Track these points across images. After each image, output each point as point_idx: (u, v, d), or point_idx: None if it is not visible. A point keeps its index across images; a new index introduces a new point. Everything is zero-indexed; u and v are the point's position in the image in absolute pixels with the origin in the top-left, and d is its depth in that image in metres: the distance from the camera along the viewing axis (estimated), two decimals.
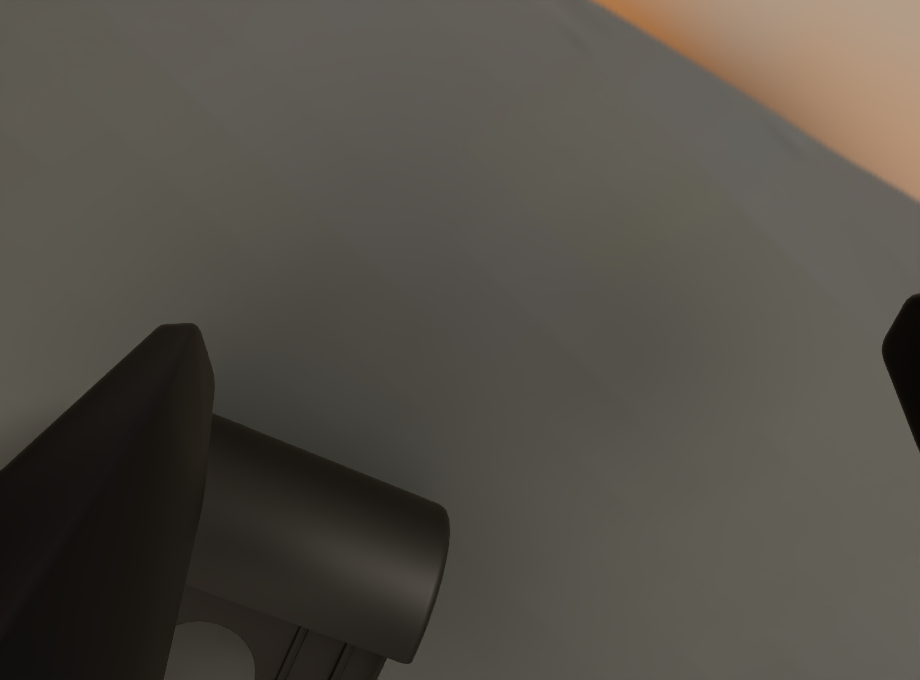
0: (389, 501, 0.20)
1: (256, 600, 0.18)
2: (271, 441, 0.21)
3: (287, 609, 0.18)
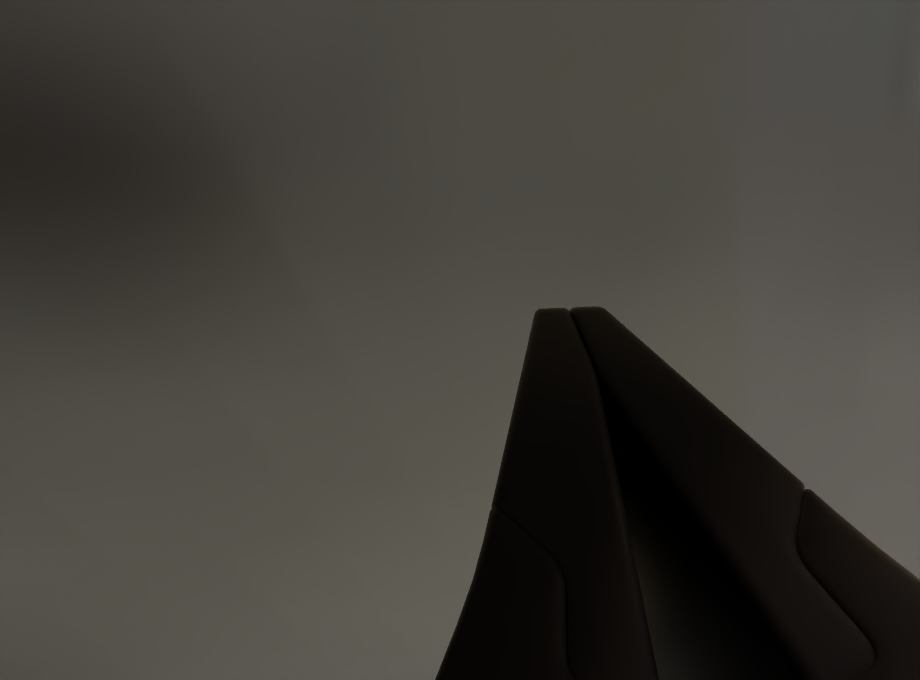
0: None
1: None
2: None
3: None
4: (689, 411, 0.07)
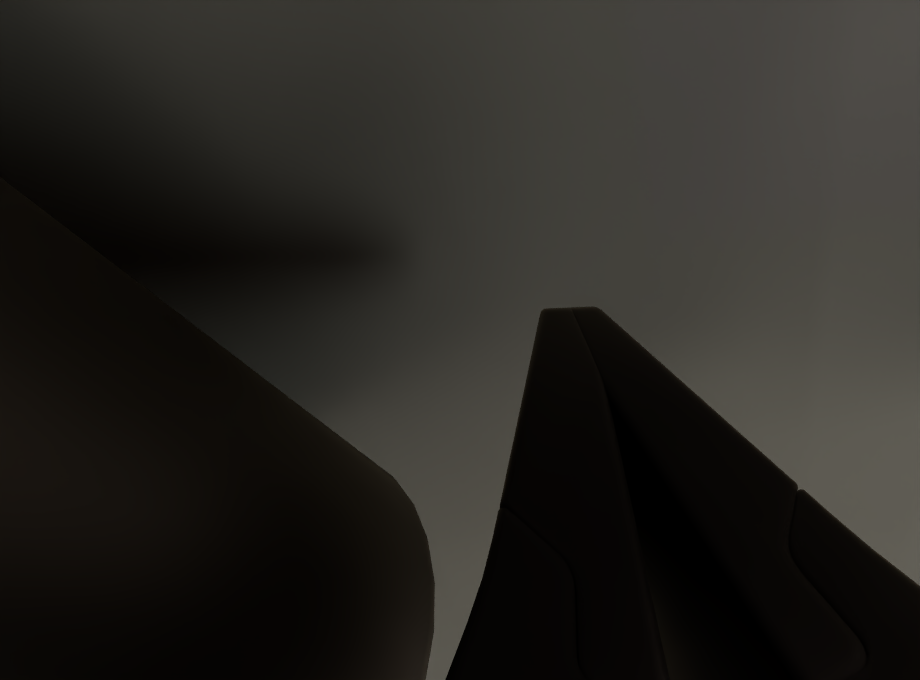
0: (328, 569, 0.07)
1: None
2: (12, 275, 0.05)
3: None
4: (683, 411, 0.07)
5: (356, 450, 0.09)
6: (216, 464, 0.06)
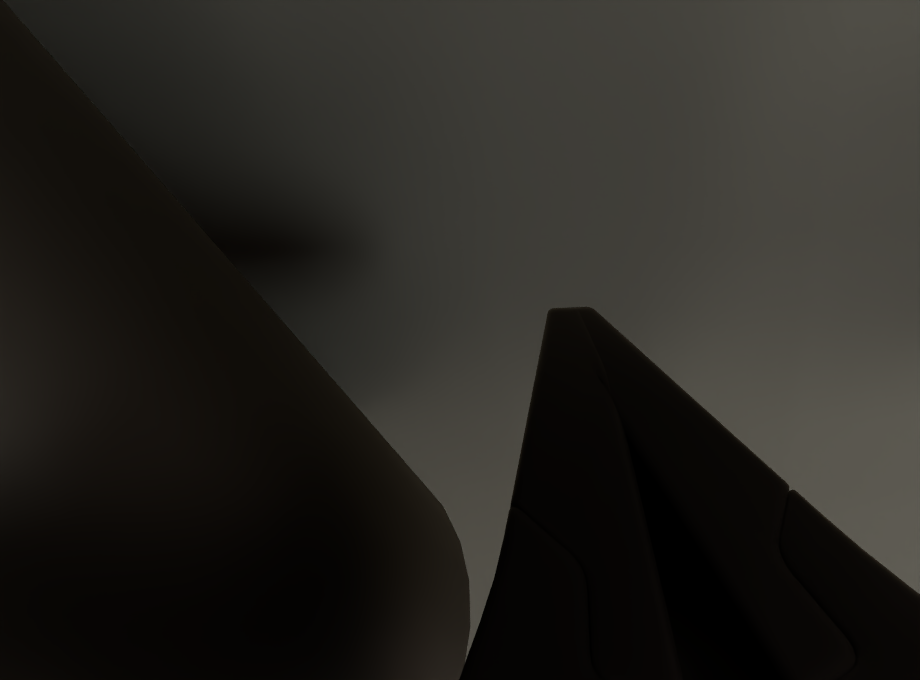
0: (401, 562, 0.08)
1: None
2: (185, 261, 0.06)
3: None
4: (675, 412, 0.07)
5: None
6: (326, 455, 0.07)
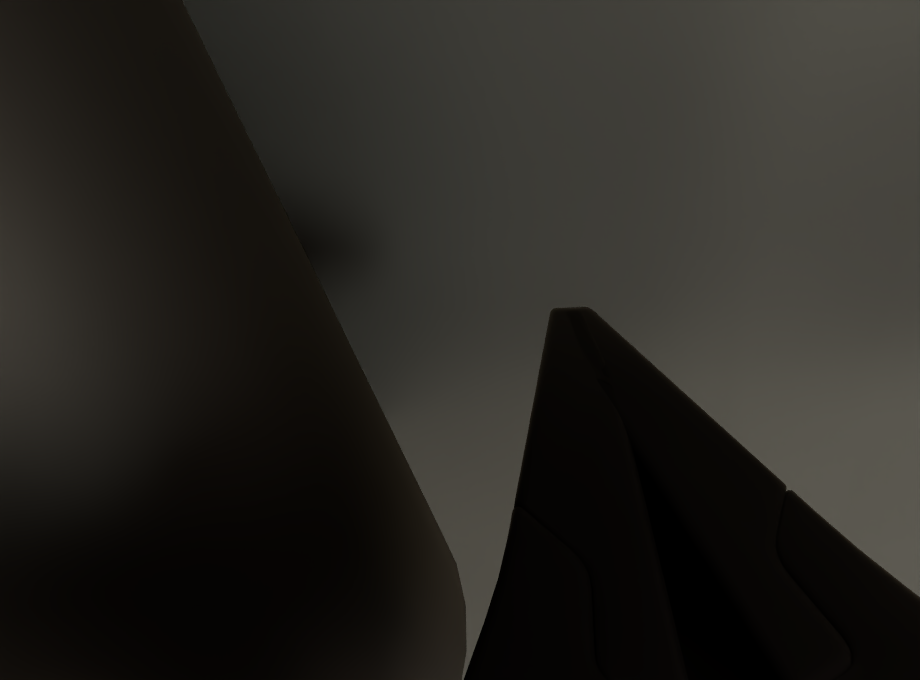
0: (430, 589, 0.08)
1: None
2: (311, 287, 0.06)
3: None
4: (673, 412, 0.07)
5: None
6: (390, 482, 0.07)
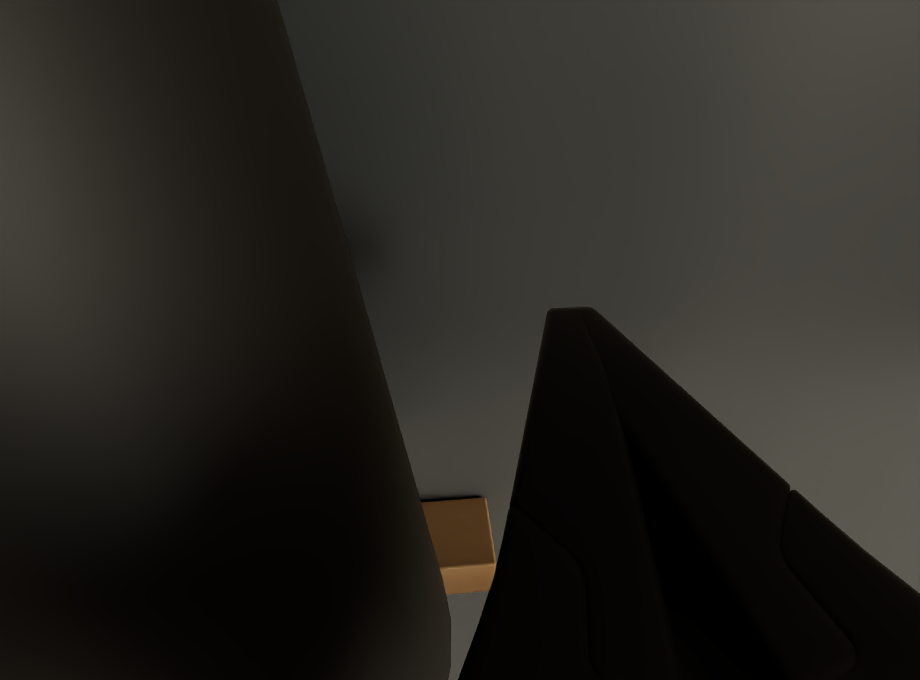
0: (429, 605, 0.08)
1: None
2: (361, 306, 0.06)
3: None
4: (676, 412, 0.07)
5: None
6: (407, 499, 0.07)
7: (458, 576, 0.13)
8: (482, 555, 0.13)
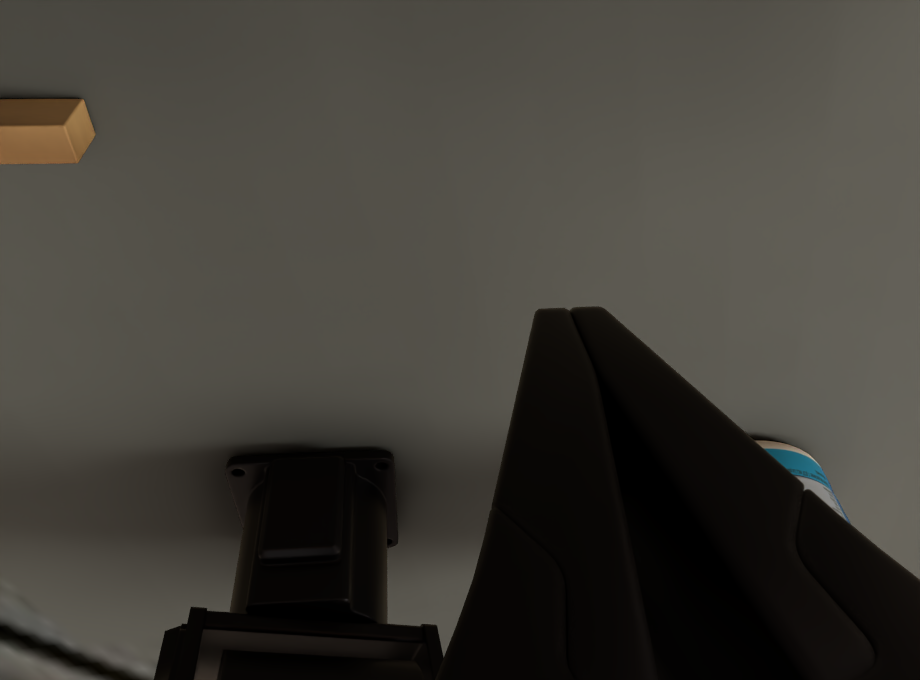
0: None
1: None
2: None
3: None
4: (689, 411, 0.07)
5: None
6: None
7: (38, 138, 0.17)
8: (56, 121, 0.17)
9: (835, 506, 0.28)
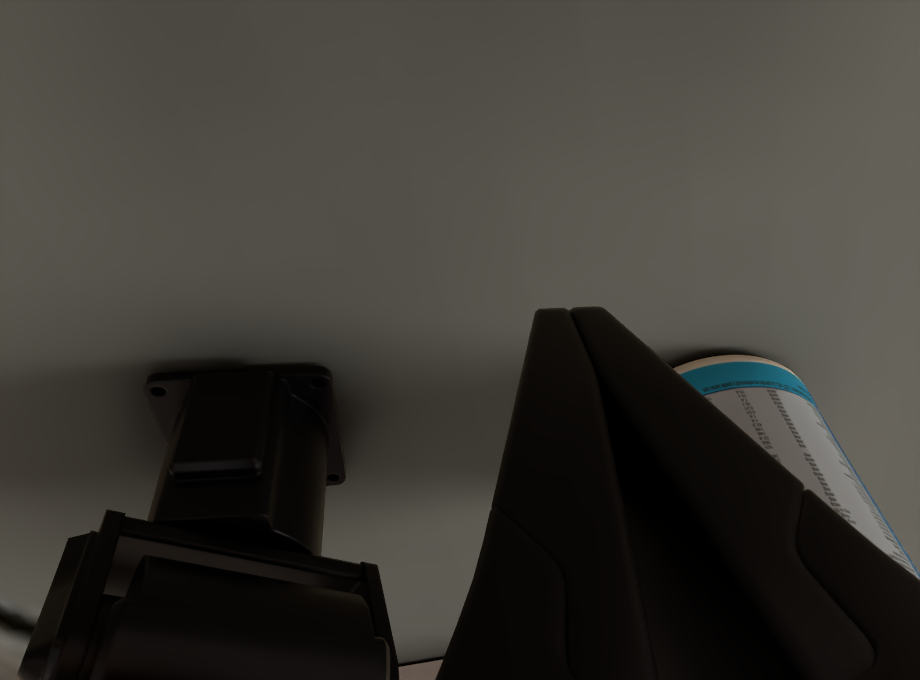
0: None
1: None
2: None
3: None
4: (689, 411, 0.07)
5: None
6: None
7: None
8: None
9: (820, 422, 0.25)
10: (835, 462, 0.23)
